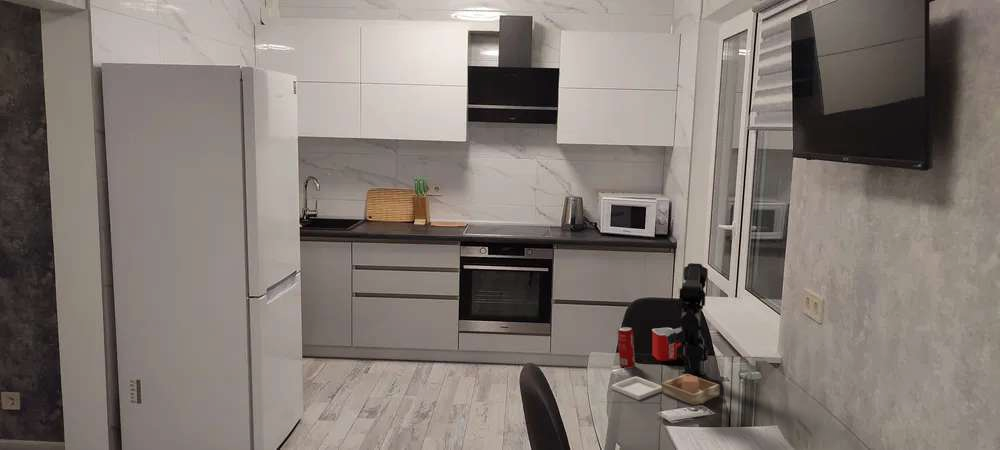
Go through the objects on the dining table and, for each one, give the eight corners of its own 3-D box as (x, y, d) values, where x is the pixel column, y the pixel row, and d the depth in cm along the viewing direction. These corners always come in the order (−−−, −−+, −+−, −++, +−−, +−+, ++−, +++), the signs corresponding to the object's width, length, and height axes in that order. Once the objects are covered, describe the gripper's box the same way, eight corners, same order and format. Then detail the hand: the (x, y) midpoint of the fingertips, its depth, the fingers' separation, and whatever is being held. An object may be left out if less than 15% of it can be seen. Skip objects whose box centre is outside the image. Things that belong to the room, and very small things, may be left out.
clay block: (681, 389, 237) (682, 376, 237) (696, 390, 237) (696, 376, 236) (683, 395, 232) (683, 381, 232) (698, 396, 232) (698, 382, 231)
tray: (635, 381, 248) (635, 376, 248) (663, 391, 238) (663, 386, 238) (611, 390, 241) (611, 385, 240) (638, 401, 231) (638, 396, 230)
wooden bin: (686, 384, 244) (686, 373, 243) (719, 396, 233) (719, 384, 233) (661, 394, 236) (661, 383, 235) (693, 406, 225) (694, 395, 225)
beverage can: (634, 369, 260) (635, 331, 257) (617, 368, 261) (617, 330, 259) (635, 363, 265) (635, 326, 263) (618, 363, 267) (617, 325, 264)
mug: (658, 361, 267) (658, 335, 265) (650, 354, 275) (650, 329, 273) (687, 359, 269) (688, 332, 267) (678, 352, 277) (679, 326, 275)
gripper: (664, 313, 241) (663, 356, 243) (669, 330, 222) (668, 376, 225) (696, 314, 239) (696, 357, 242) (704, 330, 221) (704, 377, 223)
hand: (690, 366), depth 233 cm, fingers open, 9 cm apart
